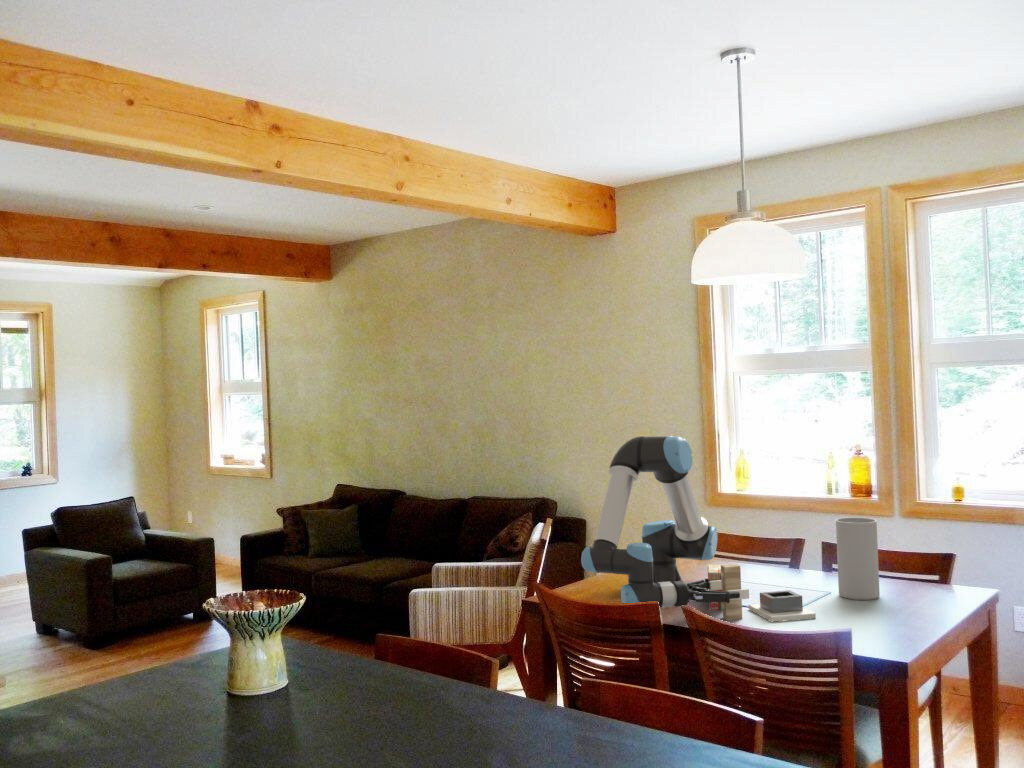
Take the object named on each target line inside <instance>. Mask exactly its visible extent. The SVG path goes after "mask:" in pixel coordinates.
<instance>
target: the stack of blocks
mask: <svg viewBox="0 0 1024 768" xmlns="http://www.w3.org/2000/svg"><path fill="white" fill-rule="evenodd" d="M721 565H722V564H707V579H709V581H718V580H721ZM708 590H710V588H709V589H708ZM713 591H722V590H713ZM709 610H710V611H723V610H722V602H709Z"/></svg>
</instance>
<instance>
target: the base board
mask: <svg viewBox="0 0 1024 768" xmlns="http://www.w3.org/2000/svg"><path fill="white" fill-rule="evenodd" d="M749 609H750V610H749ZM748 610H749V611H751V612H752V611H753V613H754V612H755V613H754V614H756V613H757V614H756V615H758V614H759V615H758V616H760V615H761V616H760V617H762V616H763V617H762V618H764V617H765V618H766V619H765V618H764V619H765V620H767V619H768V621H769V620H770V621H769V622H771V621H780V622H784V621H783V620H792V621H799V620H798V619H803V620H811V619H812V618H815V619H816V618H817V615H816V614H817V613H816V612H814V611H812V610H809V609H807V608H805V607H803V611H794V612H783V613H770V612H768V611H767V610H765V609H763V608H761V607H760V603H753V604H748ZM812 620H813V619H812Z"/></svg>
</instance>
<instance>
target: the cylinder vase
mask: <svg viewBox="0 0 1024 768" xmlns="http://www.w3.org/2000/svg"><path fill="white" fill-rule="evenodd" d="M877 524H878V522H877V519H875V518H871V517H852V516H851V517H840V518H836V519H835V533H836V537H835V538H836V555H837V556H836V559H837V561H836V562H837V579H838V580H837V582H838V583H837V584H838V595H839V596H840V597H842V598H843V599H847V598H848V600H854V601H871V600H877V599H878V598H879V597H880V596H881V595H880V593H881V592H880V574H879V573H880V572H879V571H880V570H879V551H878V550H879V548H878V547H879V546H878V525H877Z"/></svg>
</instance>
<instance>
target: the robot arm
mask: <svg viewBox="0 0 1024 768" xmlns="http://www.w3.org/2000/svg"><path fill="white" fill-rule="evenodd" d="M692 452H693V451H692V448H691V445H690V444H689V442H688V440H687V439H685V438H684V437H683V436H676V435H675V436H674V435H668V436H662V435H661V436H636V437H634V438H633V437H632V438H631V439H629V440H628V441H626V442H625V443H624V444H622V445H621V446H620V448H619V449H618V450H617V451H616V453H615V455H614V456H613V457H612V459H611V461H610V465H609V469H608V473H609V476H610V478H609V481H608V486H607V489H606V490H607V491H606V494H605V497H604V501H603V505H602V509H601V512H600V517H599V521H598V525H597V527H596V532H595V536H594V541H593V543H592V546H589V547H587V546H586V547H584V549H583V550H582V552H581V558H580V562H581V567H582V568H583V569H584V571H586V572H588V573H589V572H590V573H595V574H599V573H601V574H614V575H624V576H625V575H626V576H627V583H626V584H623V585H622V586H621V588H620V600H621V604H622V603H636V602H647V601H658V602H659V606H660V608H661V609H662V610H666V608H672V607H675V608H677V607H683V606H682V605H686V606H687V605H688V603H689V601H690V600H693V601H695V602H697V603H699V602H708V603H710V602H727V603H729V602H730V600H737V599H742V600H749V599H750V590H749V588H741V589H740V590H727V591H726V592H725V591H713V590H722V585H721V580H718V581H709V579H708V578H704V579H700V580H696V581H692V582H691V581H690V582H685V581H684V580H683V579H682V577H681V574H680V572H679V569H678V566H677V559H683V560H696V561H697V560H698V561H710V560H712V559H713V558H714V557H715V555H716V551H717V546H718V530H717V527H716V526H712V525H711V526H710V525H709V524H708V522H707V519H706V518H704V517H703V516H701V513H700V510H699V508H698V507H699V506H698V504H697V500H696V498H695V495H694V492H693V490H692V486H691V483H690V480H689V477H688V474H689V472H690V471H691V468H692V467H693V455H692ZM640 473H653V475H654V478H655V479H656V480H657V482H659V483H661V484H662V486H663V489H664V493H665V495H666V498H667V501H668V503H669V507H670V509H671V511H672V515H673V518H674V519H663V520H656V521H651V522H647V523H645V524H643V526H642V529H641V530H642V531H641V533H642V534H641V541H642V542H632V543H629V544H627V546H626V548H625V549H624V548H618V545H619V541H620V538H621V533H622V529H623V526H624V521H625V517H626V513H627V510H628V505H629V501H630V498H631V495H632V489H633V485H634V483H635V482H636V481H637V480H638V478H639V474H640ZM709 588H710V590H709ZM660 608H659V609H660Z"/></svg>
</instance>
